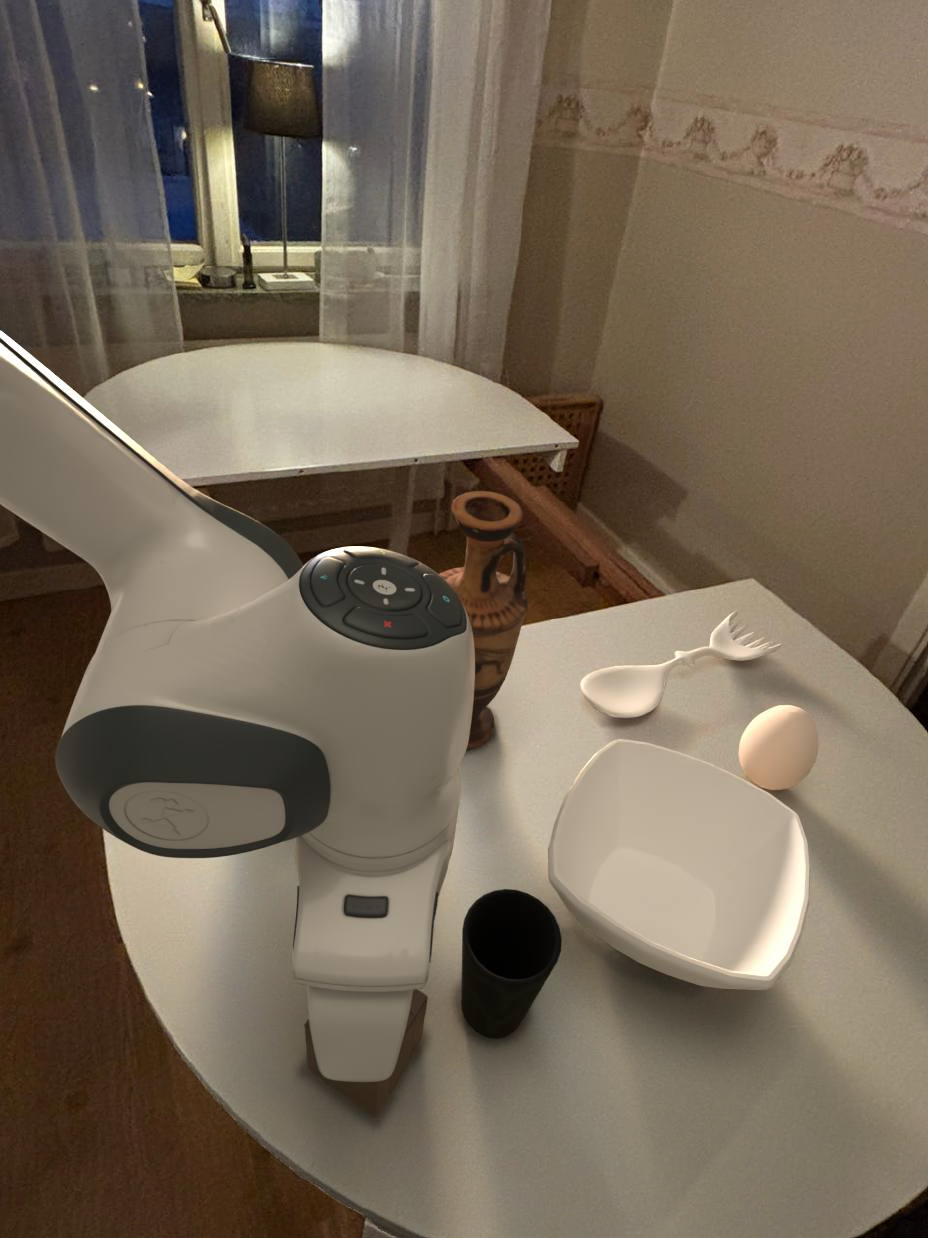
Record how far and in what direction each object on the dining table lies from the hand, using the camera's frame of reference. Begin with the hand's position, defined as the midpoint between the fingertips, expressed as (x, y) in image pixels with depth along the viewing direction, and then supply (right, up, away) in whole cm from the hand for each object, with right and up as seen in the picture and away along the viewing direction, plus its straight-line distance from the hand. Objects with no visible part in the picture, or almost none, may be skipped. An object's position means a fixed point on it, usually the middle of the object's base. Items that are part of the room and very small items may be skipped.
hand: (371, 945), depth 49 cm
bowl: (+24, -7, +23) cm, 34 cm away
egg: (+41, +2, +38) cm, 56 cm away
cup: (+9, -12, +15) cm, 21 cm away
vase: (+5, +9, +40) cm, 42 cm away
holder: (-2, -14, +11) cm, 18 cm away
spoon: (+35, +14, +51) cm, 64 cm away
